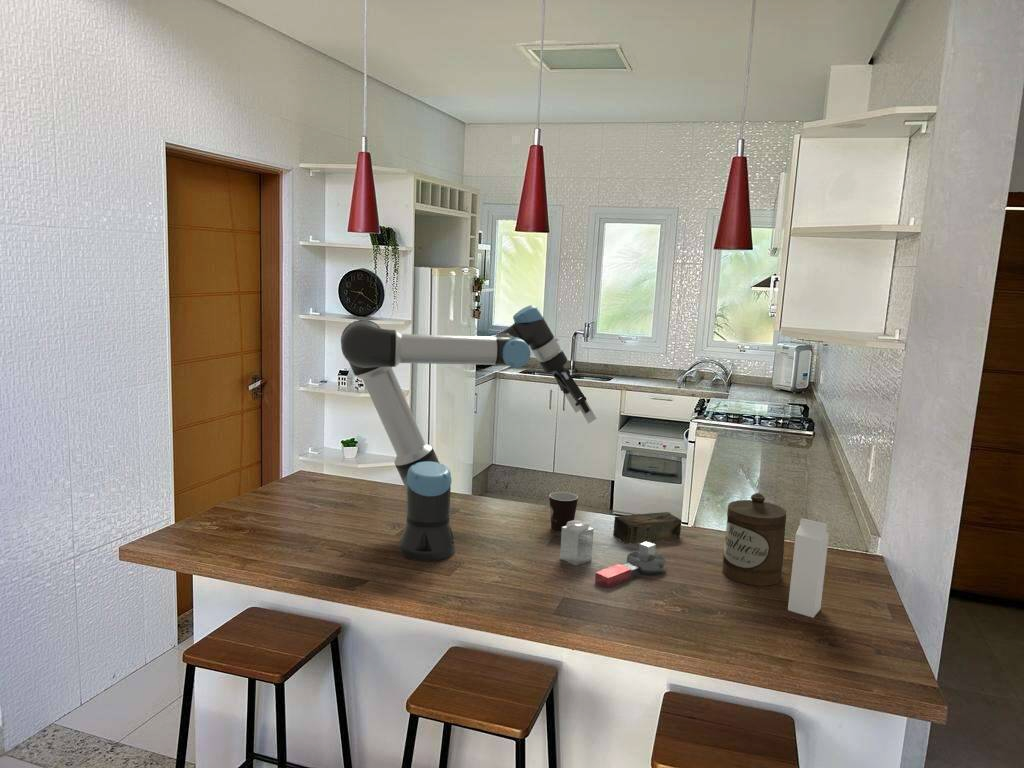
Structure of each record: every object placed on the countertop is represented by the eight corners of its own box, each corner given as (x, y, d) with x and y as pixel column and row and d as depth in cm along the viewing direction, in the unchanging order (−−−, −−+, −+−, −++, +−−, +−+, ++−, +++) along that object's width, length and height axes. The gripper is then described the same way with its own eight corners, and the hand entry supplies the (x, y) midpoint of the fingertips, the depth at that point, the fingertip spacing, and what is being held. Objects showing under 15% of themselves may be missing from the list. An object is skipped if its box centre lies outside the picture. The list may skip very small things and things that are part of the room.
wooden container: (710, 570, 201) (717, 490, 198) (744, 559, 210) (751, 482, 207) (758, 591, 190) (766, 506, 186) (792, 578, 199) (801, 497, 195)
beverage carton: (681, 538, 224) (683, 517, 223) (625, 546, 217) (626, 524, 216) (666, 529, 232) (667, 509, 231) (611, 536, 224) (612, 515, 223)
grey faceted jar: (576, 565, 201) (578, 529, 199) (560, 558, 205) (561, 523, 203) (591, 560, 205) (593, 525, 203) (575, 553, 209) (577, 518, 207)
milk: (795, 602, 184) (804, 514, 181) (821, 609, 181) (830, 520, 177) (787, 610, 179) (796, 521, 176) (813, 618, 176) (823, 527, 172)
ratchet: (616, 591, 186) (618, 566, 185) (586, 578, 193) (587, 554, 192) (672, 568, 201) (674, 545, 200) (642, 557, 208) (643, 534, 207)
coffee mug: (574, 534, 223) (576, 502, 222) (545, 531, 225) (547, 499, 223) (579, 521, 235) (580, 490, 233) (551, 518, 236) (553, 487, 235)
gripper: (572, 354, 207) (609, 418, 212) (551, 342, 231) (584, 399, 236) (549, 369, 206) (586, 432, 212) (530, 355, 231) (564, 412, 236)
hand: (585, 415), depth 224 cm, fingers open, 13 cm apart
